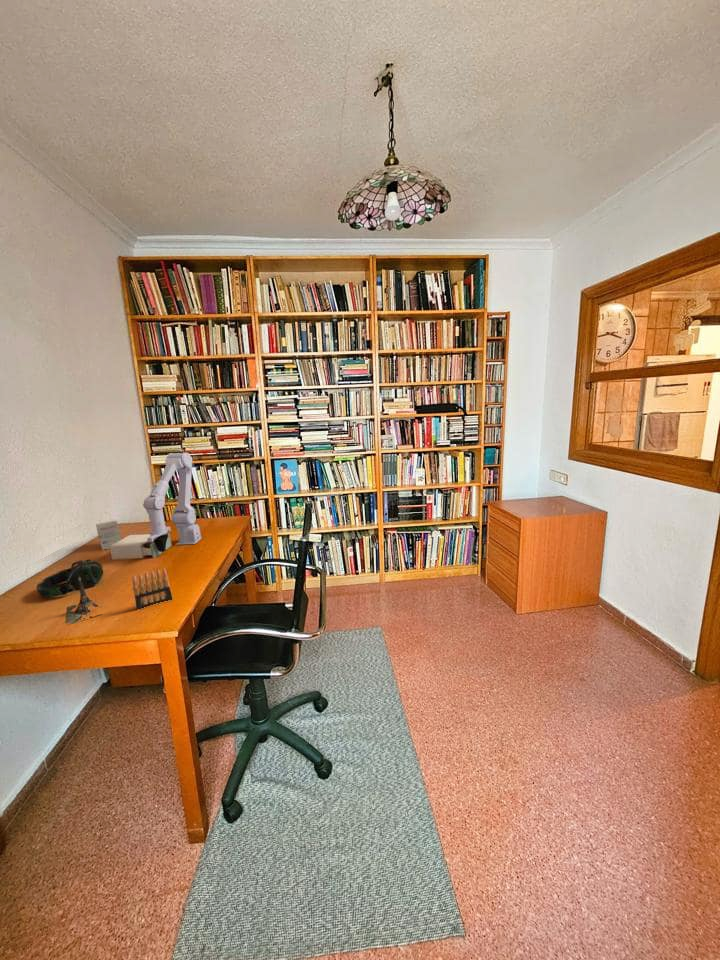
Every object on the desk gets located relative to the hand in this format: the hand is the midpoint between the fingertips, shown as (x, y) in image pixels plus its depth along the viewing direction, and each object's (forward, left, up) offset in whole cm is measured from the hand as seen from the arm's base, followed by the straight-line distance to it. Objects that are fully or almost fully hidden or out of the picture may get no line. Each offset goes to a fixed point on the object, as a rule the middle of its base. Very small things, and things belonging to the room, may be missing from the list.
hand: (162, 551), depth 166 cm
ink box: (+35, -14, -2) cm, 38 cm away
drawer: (+9, -4, -2) cm, 10 cm away
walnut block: (+8, -4, -1) cm, 9 cm away
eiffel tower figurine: (0, +45, -3) cm, 45 cm away
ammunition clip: (-22, +42, -2) cm, 47 cm away
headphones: (+18, +29, -2) cm, 34 cm away
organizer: (+15, -4, -2) cm, 16 cm away
